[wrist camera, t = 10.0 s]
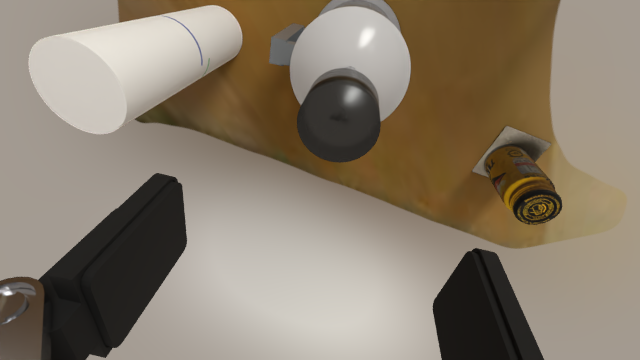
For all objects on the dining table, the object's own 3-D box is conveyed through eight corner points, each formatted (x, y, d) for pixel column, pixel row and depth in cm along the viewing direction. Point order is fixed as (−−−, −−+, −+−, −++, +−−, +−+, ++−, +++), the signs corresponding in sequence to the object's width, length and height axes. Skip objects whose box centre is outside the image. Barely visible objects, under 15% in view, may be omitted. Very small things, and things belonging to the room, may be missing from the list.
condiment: (471, 170, 50) (496, 219, 40) (506, 125, 45) (544, 167, 35) (511, 186, 50) (546, 238, 40) (550, 142, 45) (600, 189, 36)
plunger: (384, 52, 26) (391, 95, 17) (368, 107, 29) (367, 169, 20) (327, 39, 26) (303, 75, 17) (316, 95, 29) (291, 152, 20)
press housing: (413, 3, 38) (437, 19, 25) (384, 93, 45) (391, 145, 31) (304, -22, 38) (269, -20, 25) (292, 72, 45) (258, 115, 31)
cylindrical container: (240, 7, 41) (109, 41, 20) (244, 63, 45) (138, 139, 24) (188, 3, 42) (9, 31, 21) (197, 58, 46) (54, 128, 25)
